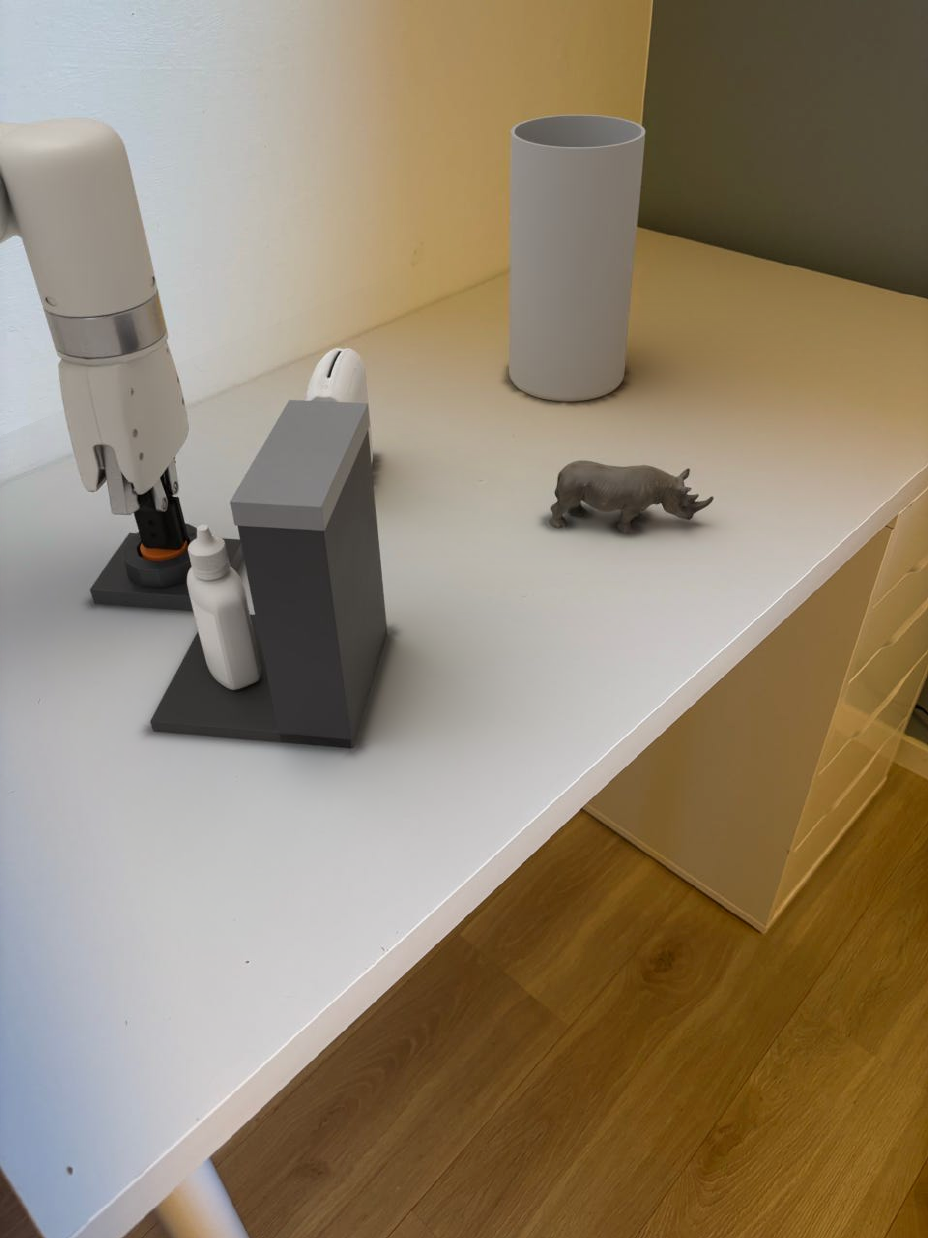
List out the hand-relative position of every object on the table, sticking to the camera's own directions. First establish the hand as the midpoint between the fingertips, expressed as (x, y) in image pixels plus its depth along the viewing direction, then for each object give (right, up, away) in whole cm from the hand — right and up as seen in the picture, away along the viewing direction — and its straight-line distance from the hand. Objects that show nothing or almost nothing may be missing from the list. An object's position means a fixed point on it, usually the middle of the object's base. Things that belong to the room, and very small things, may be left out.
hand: (166, 543), depth 79 cm
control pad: (0, -3, +2) cm, 4 cm away
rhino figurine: (+38, +2, +7) cm, 39 cm away
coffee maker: (+10, -11, -8) cm, 17 cm away
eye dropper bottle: (+7, -10, -8) cm, 14 cm away
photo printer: (+13, +6, +13) cm, 20 cm away
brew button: (0, -1, +1) cm, 2 cm away
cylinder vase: (+35, +20, +29) cm, 50 cm away
